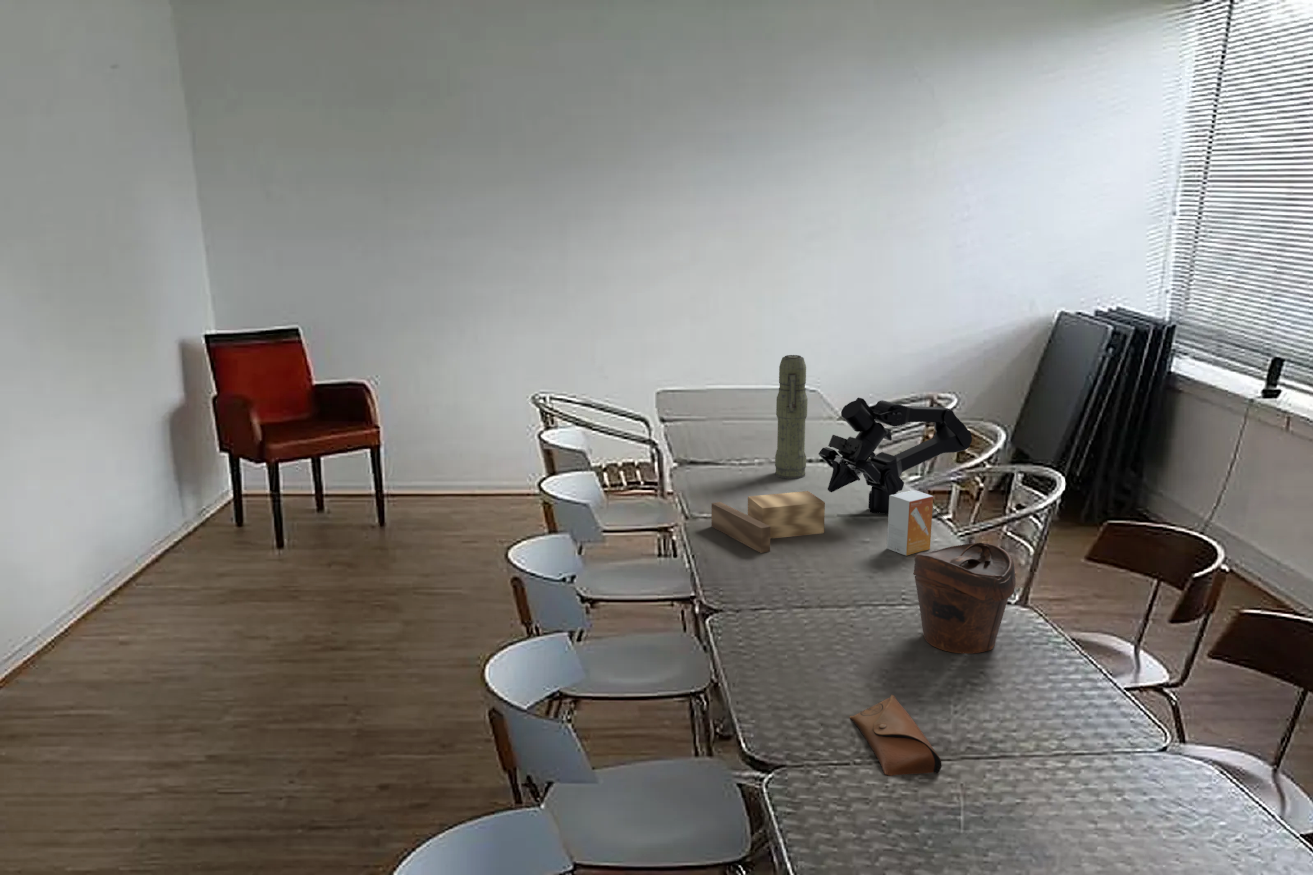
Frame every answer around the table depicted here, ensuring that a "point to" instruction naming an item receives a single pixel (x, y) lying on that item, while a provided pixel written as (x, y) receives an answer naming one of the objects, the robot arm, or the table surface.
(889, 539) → the small box
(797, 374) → the thermos
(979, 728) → the table surface
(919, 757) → the sunglasses case
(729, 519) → the walnut board
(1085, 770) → the table surface
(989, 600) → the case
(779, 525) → the oak block
